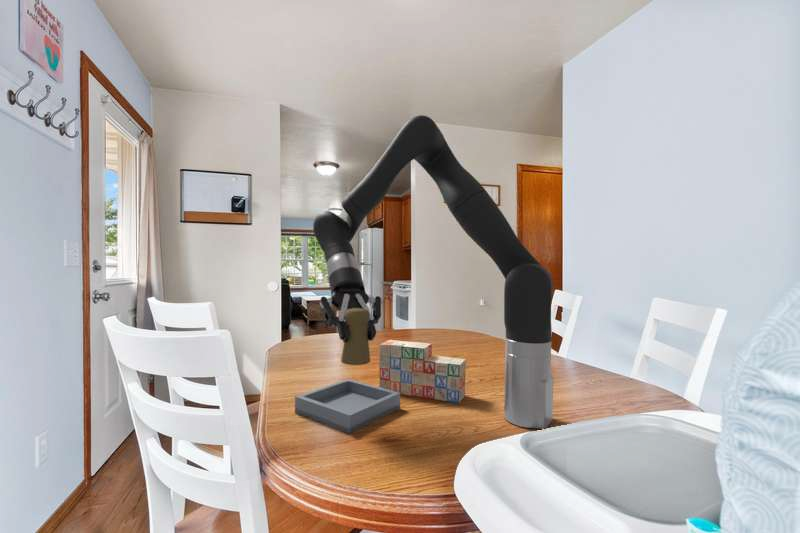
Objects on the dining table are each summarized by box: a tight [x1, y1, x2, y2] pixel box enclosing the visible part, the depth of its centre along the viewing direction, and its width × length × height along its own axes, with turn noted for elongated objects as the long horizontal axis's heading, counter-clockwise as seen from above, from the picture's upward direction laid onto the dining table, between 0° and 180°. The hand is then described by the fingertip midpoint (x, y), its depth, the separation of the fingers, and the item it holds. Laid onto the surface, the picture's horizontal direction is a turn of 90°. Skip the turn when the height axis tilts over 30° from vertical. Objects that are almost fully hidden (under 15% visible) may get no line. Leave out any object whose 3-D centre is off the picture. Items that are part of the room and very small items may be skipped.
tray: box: [294, 378, 401, 435], centre depth 85 cm, size 16×16×4 cm
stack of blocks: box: [378, 339, 467, 404], centre depth 98 cm, size 21×6×12 cm, turn 66°
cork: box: [340, 308, 371, 366], centre depth 80 cm, size 6×6×11 cm
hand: (359, 339), depth 78 cm, fingers closed on cork, 5 cm apart
